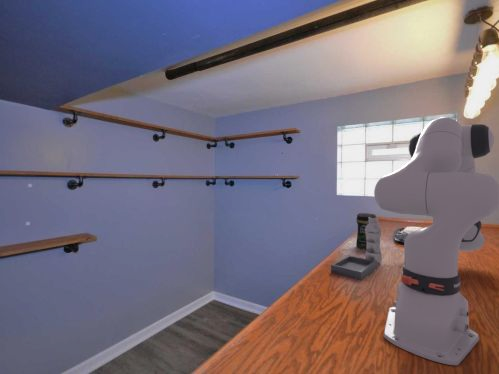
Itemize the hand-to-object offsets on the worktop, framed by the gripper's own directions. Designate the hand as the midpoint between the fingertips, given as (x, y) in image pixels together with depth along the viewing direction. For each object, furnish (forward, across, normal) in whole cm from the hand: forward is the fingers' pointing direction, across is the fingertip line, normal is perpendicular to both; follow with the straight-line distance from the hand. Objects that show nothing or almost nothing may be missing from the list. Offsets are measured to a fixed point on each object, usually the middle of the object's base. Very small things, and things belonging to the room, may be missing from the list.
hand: (399, 238), depth 110 cm
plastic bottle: (+11, 0, +11) cm, 15 cm away
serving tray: (+21, +10, +11) cm, 26 cm away
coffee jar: (+8, -24, +11) cm, 28 cm away
